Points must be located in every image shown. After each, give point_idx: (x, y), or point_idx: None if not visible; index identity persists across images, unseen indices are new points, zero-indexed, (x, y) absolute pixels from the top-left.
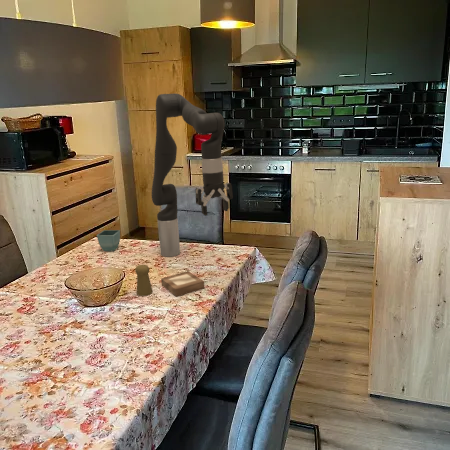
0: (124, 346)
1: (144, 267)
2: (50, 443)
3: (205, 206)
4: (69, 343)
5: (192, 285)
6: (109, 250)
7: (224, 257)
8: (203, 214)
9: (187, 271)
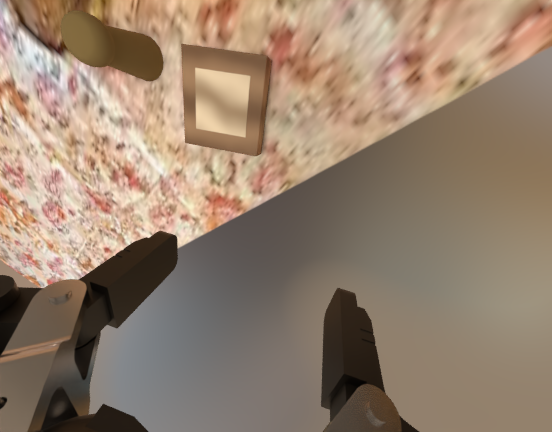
0: (84, 215)
1: (82, 56)
2: (29, 279)
3: (106, 322)
4: (16, 152)
5: (226, 150)
6: None
7: None
8: (162, 232)
9: (263, 56)
